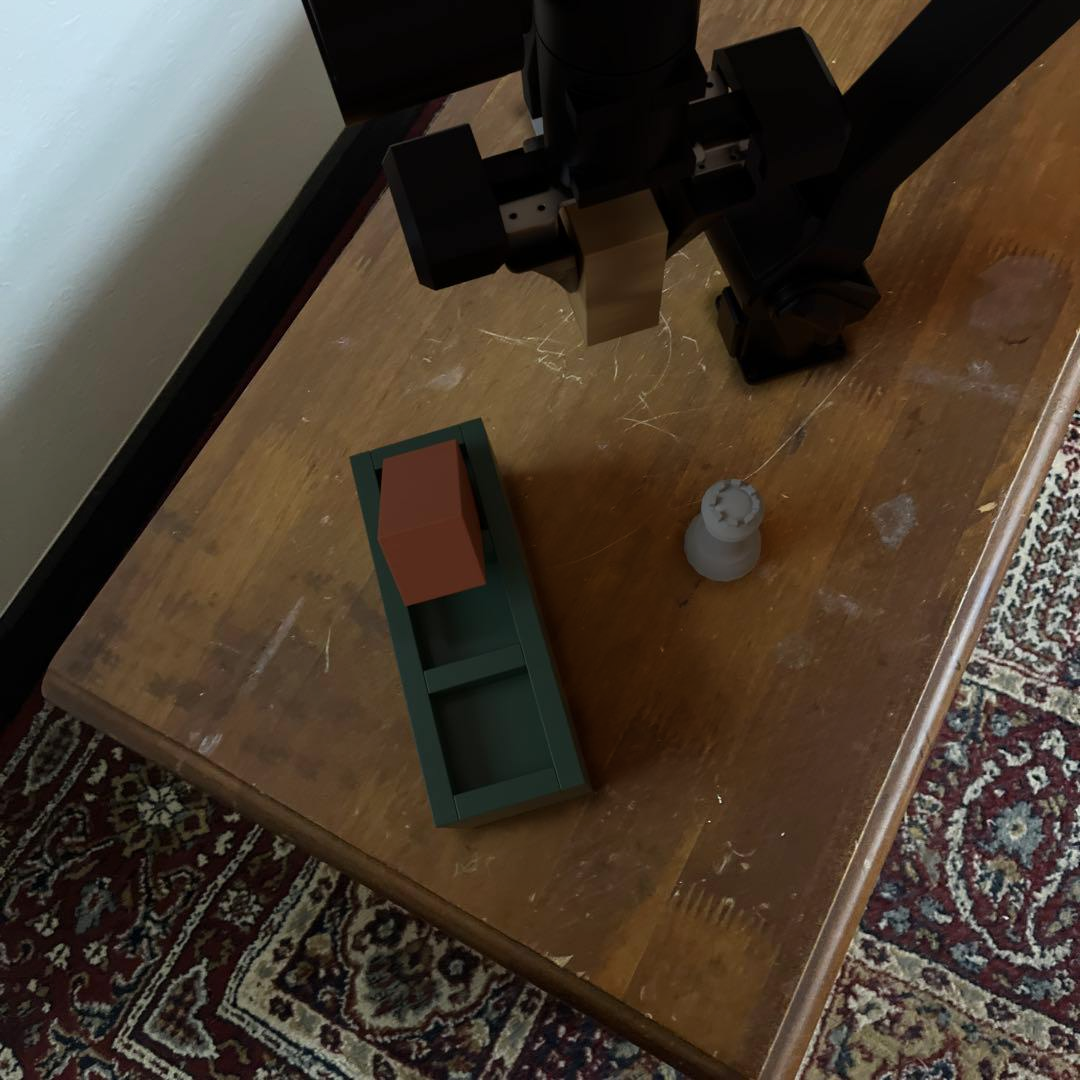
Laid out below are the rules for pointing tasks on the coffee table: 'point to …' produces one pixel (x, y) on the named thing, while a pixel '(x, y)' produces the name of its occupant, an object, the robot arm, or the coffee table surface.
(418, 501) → the terracotta peg
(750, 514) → the rook chess piece
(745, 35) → the coffee table surface
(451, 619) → the rack
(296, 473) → the coffee table surface
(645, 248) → the maple peg
